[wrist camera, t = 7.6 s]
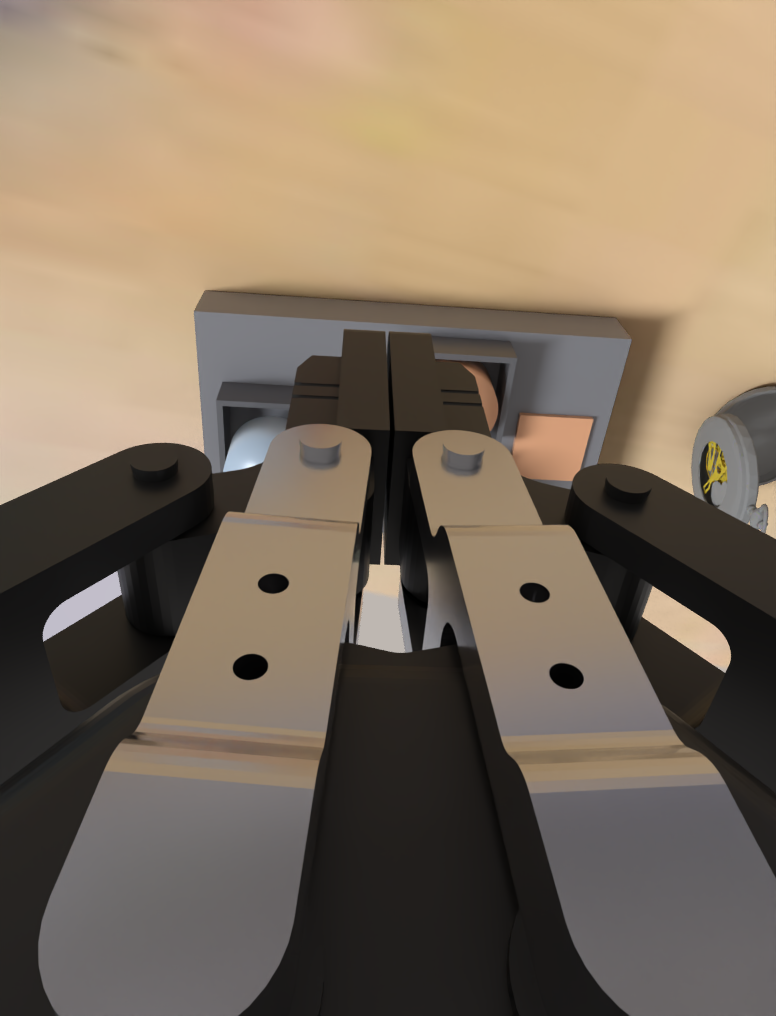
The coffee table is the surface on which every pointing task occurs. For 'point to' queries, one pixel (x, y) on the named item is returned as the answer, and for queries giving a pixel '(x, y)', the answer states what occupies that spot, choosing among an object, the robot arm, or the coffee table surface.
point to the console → (455, 336)
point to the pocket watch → (737, 456)
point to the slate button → (253, 442)
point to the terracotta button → (482, 388)
